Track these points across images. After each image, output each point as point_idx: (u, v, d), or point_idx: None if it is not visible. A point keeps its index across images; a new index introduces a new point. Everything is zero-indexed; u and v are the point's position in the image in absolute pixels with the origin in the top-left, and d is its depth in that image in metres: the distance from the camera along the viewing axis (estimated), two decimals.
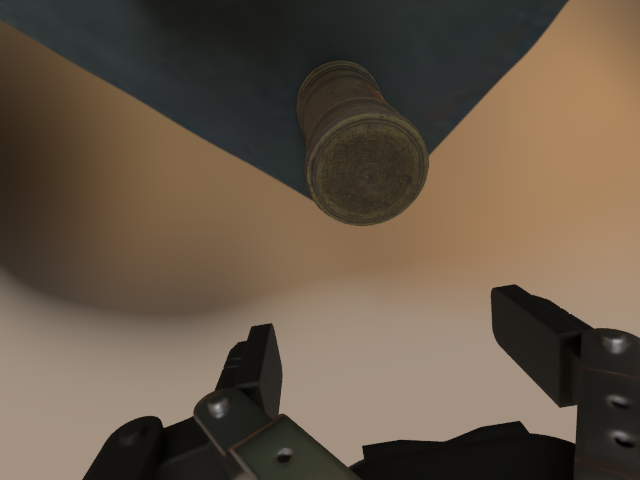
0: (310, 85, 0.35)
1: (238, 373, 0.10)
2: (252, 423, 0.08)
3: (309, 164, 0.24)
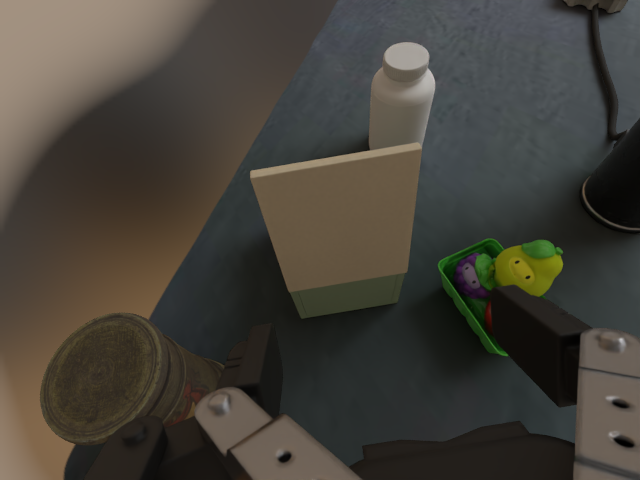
0: (212, 363, 0.39)
1: (239, 373, 0.10)
2: (253, 423, 0.08)
3: (115, 314, 0.27)
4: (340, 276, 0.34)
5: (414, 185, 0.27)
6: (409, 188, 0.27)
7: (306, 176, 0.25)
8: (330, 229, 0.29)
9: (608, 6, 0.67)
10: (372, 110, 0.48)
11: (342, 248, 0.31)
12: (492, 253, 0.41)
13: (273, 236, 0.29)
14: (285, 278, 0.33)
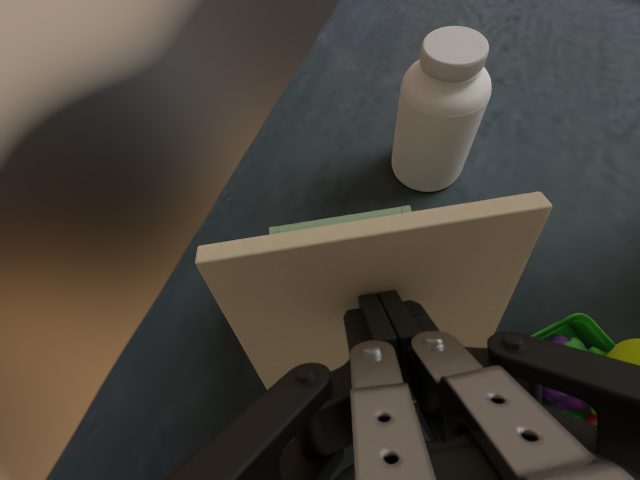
0: None
1: (372, 331, 0.11)
2: (386, 379, 0.09)
3: None
4: None
5: (518, 269, 0.14)
6: (507, 274, 0.14)
7: (310, 258, 0.12)
8: None
9: None
10: (400, 121, 0.35)
11: None
12: (583, 336, 0.28)
13: (249, 350, 0.16)
14: None
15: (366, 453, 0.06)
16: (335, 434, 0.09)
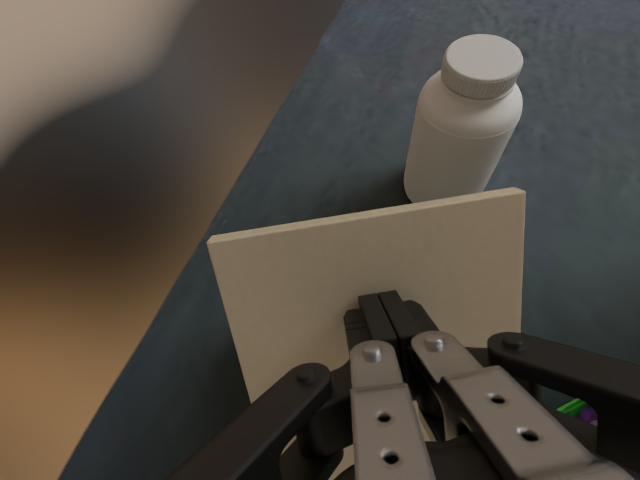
0: None
1: (372, 331, 0.11)
2: (386, 379, 0.09)
3: None
4: None
5: (516, 272, 0.14)
6: (507, 278, 0.14)
7: (310, 243, 0.13)
8: None
9: None
10: (417, 140, 0.31)
11: None
12: None
13: (249, 376, 0.15)
14: None
15: (366, 453, 0.06)
16: (335, 434, 0.09)
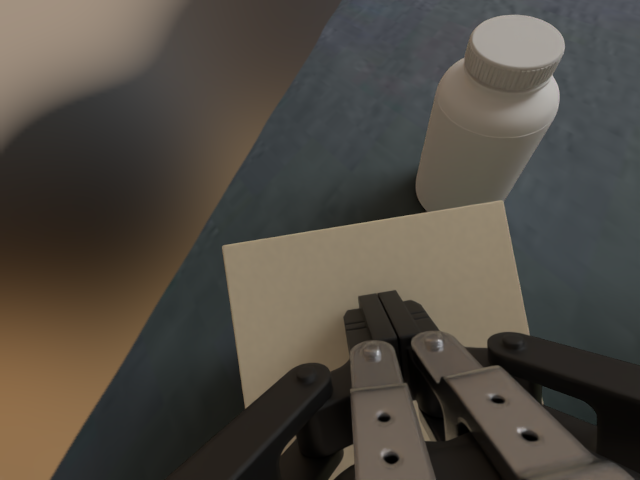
0: None
1: (372, 331, 0.11)
2: (386, 379, 0.09)
3: None
4: None
5: (512, 278, 0.15)
6: (505, 285, 0.15)
7: (313, 247, 0.15)
8: None
9: None
10: (433, 140, 0.27)
11: None
12: None
13: (249, 395, 0.14)
14: None
15: (366, 453, 0.06)
16: (335, 434, 0.09)
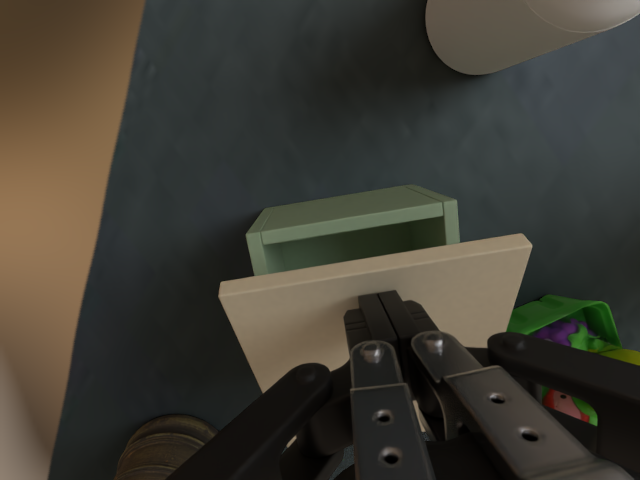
0: (185, 444, 0.30)
1: (372, 331, 0.11)
2: (386, 379, 0.09)
3: None
4: None
5: (509, 304, 0.15)
6: (500, 308, 0.15)
7: (320, 292, 0.14)
8: None
9: None
10: None
11: None
12: (591, 319, 0.27)
13: (262, 381, 0.17)
14: None
15: (366, 453, 0.06)
16: (335, 434, 0.09)
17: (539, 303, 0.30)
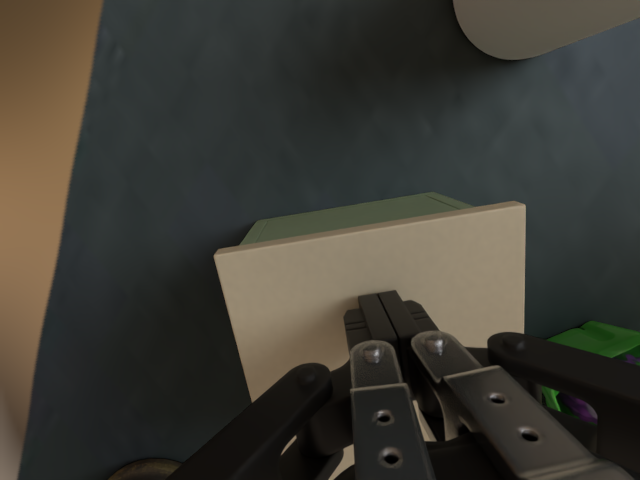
0: None
1: (372, 331, 0.11)
2: (386, 379, 0.09)
3: None
4: None
5: (519, 284, 0.14)
6: (510, 291, 0.14)
7: (314, 256, 0.14)
8: None
9: None
10: None
11: None
12: None
13: (254, 389, 0.15)
14: None
15: (366, 453, 0.06)
16: (335, 434, 0.09)
17: (582, 332, 0.25)
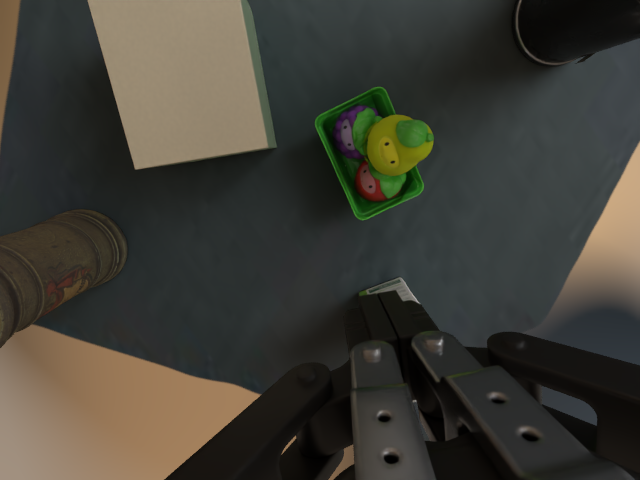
0: (85, 219, 0.39)
1: (372, 331, 0.11)
2: (386, 379, 0.09)
3: None
4: (190, 144, 0.31)
5: (237, 2, 0.29)
6: (233, 5, 0.29)
7: None
8: (165, 60, 0.29)
9: None
10: None
11: (184, 93, 0.30)
12: (378, 105, 0.36)
13: (108, 64, 0.29)
14: (128, 140, 0.31)
15: (366, 453, 0.06)
16: (335, 434, 0.09)
17: None
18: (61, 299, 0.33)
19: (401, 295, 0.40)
